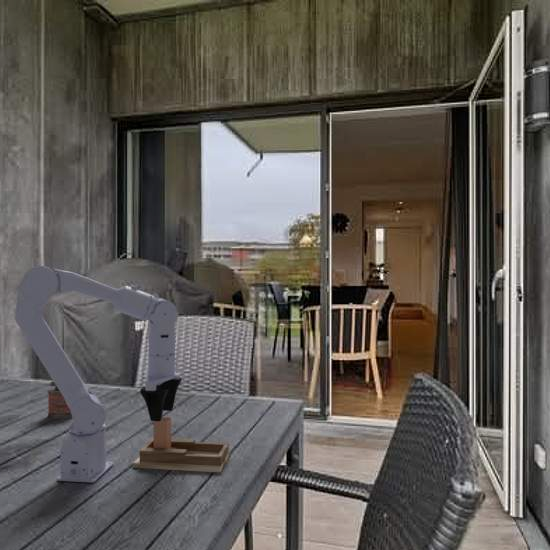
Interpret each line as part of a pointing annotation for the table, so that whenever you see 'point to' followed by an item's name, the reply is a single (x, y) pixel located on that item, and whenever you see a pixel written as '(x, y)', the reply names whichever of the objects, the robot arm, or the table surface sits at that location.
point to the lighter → (57, 404)
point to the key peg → (163, 433)
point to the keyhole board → (184, 456)
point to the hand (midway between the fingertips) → (161, 415)
